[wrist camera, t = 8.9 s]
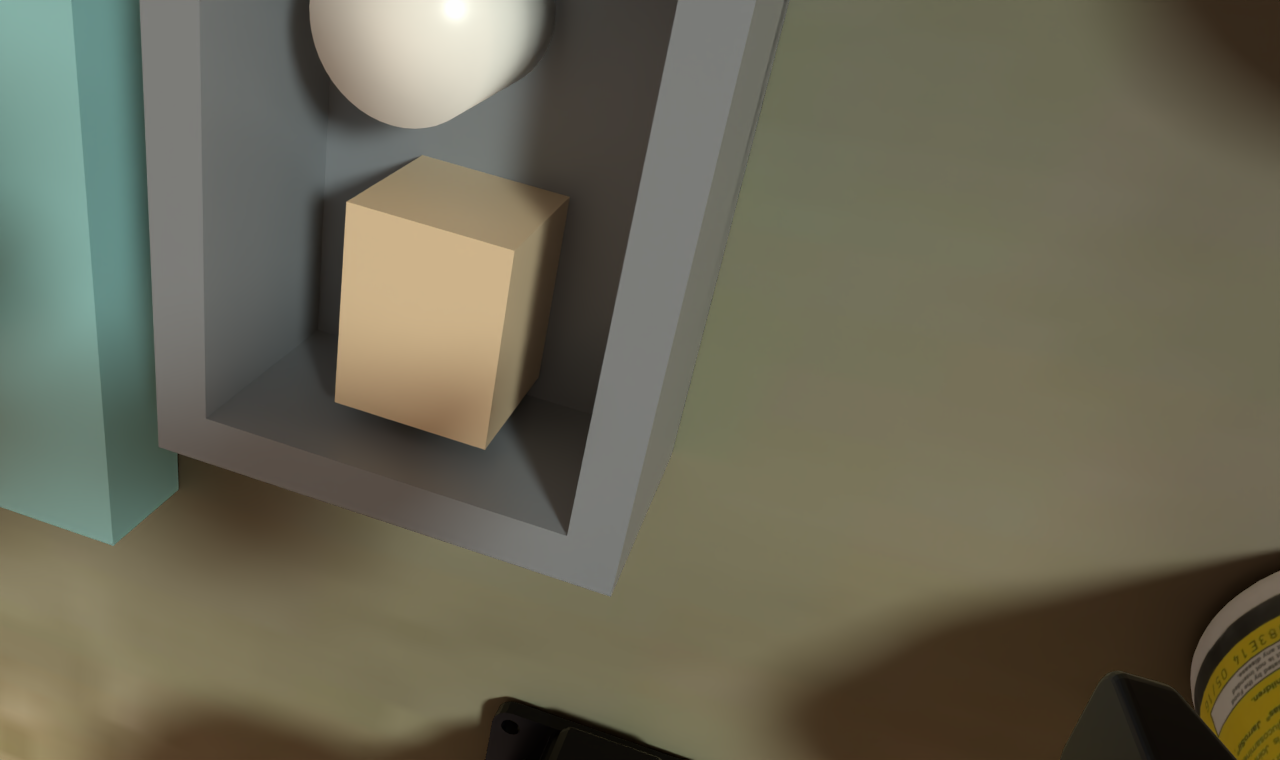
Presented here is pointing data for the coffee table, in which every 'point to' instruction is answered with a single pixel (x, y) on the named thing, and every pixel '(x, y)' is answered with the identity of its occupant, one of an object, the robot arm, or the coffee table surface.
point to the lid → (76, 271)
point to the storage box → (446, 251)
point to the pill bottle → (1242, 673)
